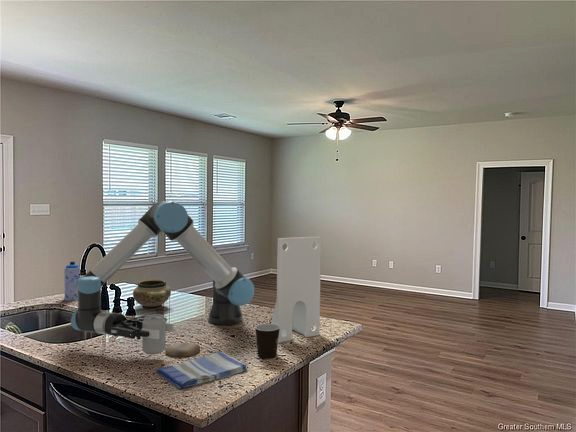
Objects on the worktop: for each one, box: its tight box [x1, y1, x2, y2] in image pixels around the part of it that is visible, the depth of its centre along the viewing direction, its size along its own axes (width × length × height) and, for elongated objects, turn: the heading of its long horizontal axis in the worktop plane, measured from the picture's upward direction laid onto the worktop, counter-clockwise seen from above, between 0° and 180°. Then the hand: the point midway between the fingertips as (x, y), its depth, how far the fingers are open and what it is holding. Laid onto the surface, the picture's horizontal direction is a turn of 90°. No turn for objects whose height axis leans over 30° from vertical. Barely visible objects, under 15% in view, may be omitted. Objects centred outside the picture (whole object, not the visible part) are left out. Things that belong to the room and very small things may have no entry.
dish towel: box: [156, 351, 248, 390], centre depth 133 cm, size 17×24×3 cm
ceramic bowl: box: [132, 279, 172, 311], centre depth 211 cm, size 24×18×15 cm
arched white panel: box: [270, 236, 322, 344], centre depth 172 cm, size 20×14×40 cm
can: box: [141, 313, 167, 355], centre depth 142 cm, size 8×8×12 cm
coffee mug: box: [254, 323, 280, 360], centre depth 149 cm, size 12×9×10 cm
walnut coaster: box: [164, 342, 201, 358], centre depth 151 cm, size 12×12×1 cm
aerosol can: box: [64, 261, 81, 302], centre depth 227 cm, size 8×8×20 cm
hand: (166, 331), depth 141 cm, fingers closed on can, 7 cm apart
